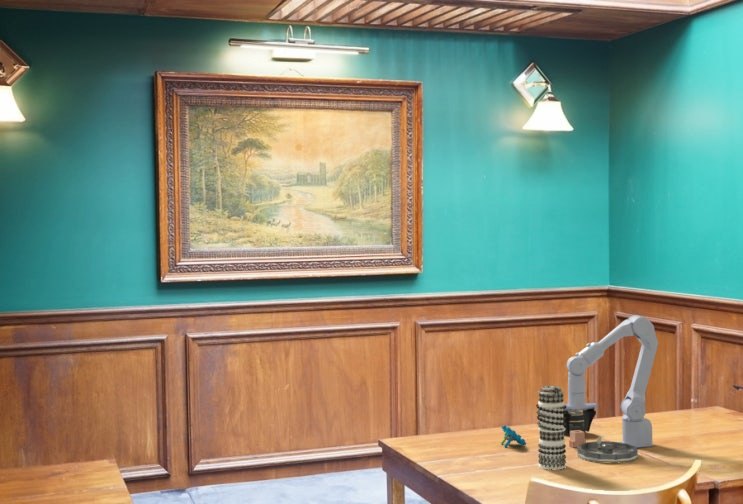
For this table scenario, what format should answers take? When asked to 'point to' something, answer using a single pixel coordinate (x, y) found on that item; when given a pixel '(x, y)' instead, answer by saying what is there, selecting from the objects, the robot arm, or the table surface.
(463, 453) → the table surface
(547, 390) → the decorative candle
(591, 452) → the plate
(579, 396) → the robot arm
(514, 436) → the blue t-shaped piece
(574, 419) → the jar
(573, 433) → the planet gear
